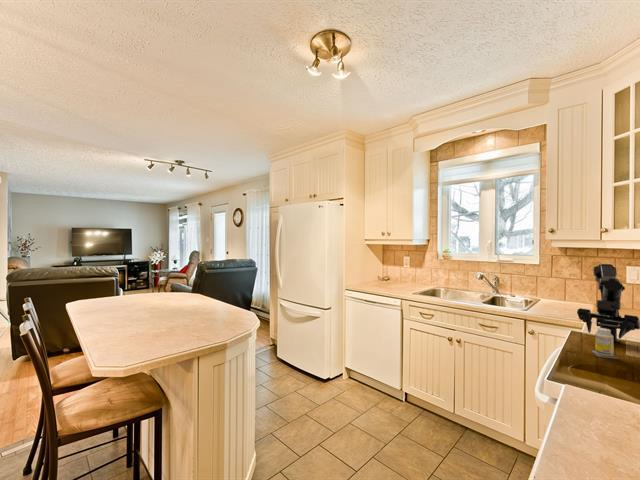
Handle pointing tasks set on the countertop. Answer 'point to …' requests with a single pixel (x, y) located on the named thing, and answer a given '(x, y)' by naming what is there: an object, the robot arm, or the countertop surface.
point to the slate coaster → (604, 355)
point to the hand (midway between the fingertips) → (603, 335)
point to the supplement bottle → (604, 342)
